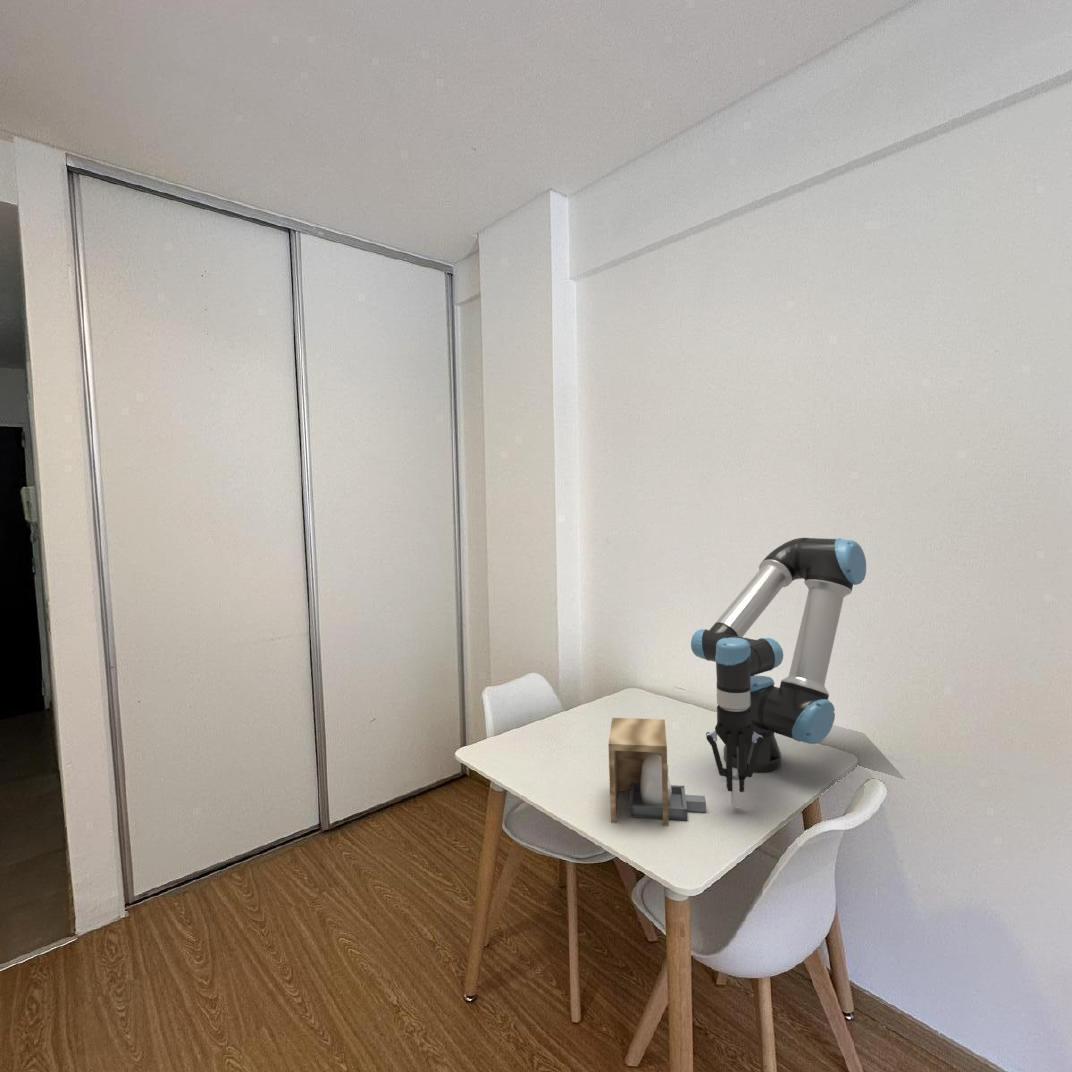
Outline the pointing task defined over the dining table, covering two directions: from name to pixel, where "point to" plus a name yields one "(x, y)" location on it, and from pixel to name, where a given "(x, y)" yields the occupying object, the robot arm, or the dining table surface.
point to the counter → (635, 756)
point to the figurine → (653, 781)
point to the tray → (676, 804)
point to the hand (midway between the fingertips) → (735, 804)
